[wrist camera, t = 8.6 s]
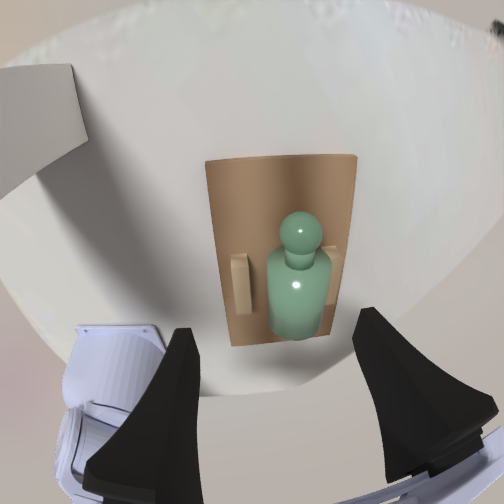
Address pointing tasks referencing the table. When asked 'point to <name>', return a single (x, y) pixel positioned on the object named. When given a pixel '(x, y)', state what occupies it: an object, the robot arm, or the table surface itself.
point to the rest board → (274, 228)
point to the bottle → (298, 278)
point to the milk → (36, 120)
